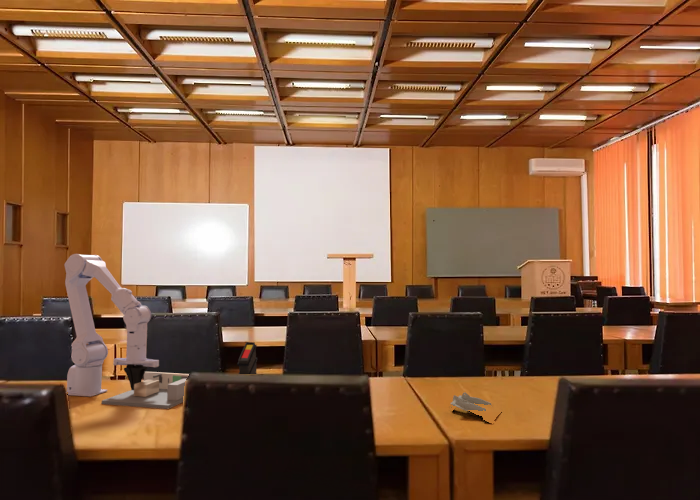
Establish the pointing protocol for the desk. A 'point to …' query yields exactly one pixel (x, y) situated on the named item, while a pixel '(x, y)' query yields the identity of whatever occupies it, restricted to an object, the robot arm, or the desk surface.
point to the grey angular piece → (468, 402)
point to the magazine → (248, 359)
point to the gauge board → (164, 399)
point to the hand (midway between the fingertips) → (135, 389)
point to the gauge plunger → (147, 387)
